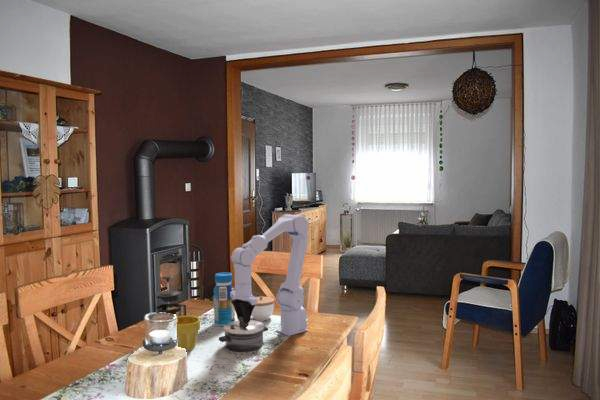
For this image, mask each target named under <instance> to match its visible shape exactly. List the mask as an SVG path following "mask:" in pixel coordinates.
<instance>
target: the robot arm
mask: <svg viewBox="0 0 600 400" xmlns="http://www.w3.org/2000/svg"><path fill="white" fill-rule="evenodd" d="M309 227H310V222H309V221H308V219H307V218H306V217H305V216H304V215H302V214H301V215H297V214H289V213H285V214H283V215H282V216H280V217H278V218H277V221H276V222H275V223H274V224H273V225H272V226H271V227H269V228H268V229H267V230H266V231H265V232H264V233H263V234H262V235H261V234H257V235H253V236H252V237H251V239H250V240H249V241H248V242H246V243H243V244H242V245H241V247H237V248H235V249H233V251H232V253H231V255H230V260H231V262H232V263H233V268H234V291H231V292H230V297H232V298H233V299H234V300H232V301H231V303H232V304H233V306H234V308H235V315H236V317H237V318H236V319H237V321H239V316H240V315H243V322H244V323H248V322H250V320H252V319H251V318H252V316H251V314H252V311H253V309H254V307H255V305H256V304H257V298H255V297H256V296H254V295H253V294H252V264H253V263H254V262H255V259H256V258H257V256H258V255H260V254H261V253H262V252H263V251H264V250H266V249H267V248H268V243H270V242H271V241H272V240H274V239H275V238H277V237H278V236H279V235H281V234H282V233H286V234H287V235H289V236H290V239H292V245H291V251H290V256H289V260H288V261H289V262H288V267H287V272H286V276H285V277H286V278H285V281H284V282H283V283H281V284H280V287H279V290H278V291H277V294H276V297H275V298H276V302H277V304H278V305H279V308H280V328H277V329H275V331H276V332H278V333H279V334H282V335H285V336H288V337H289V336H294V335H297V334H300V333H305V332H308V331H309V329H308V327H307V311H306V309H305V307H303V305H304V302H305V298H304V293H305V292H304V291H305V290H304V288H303V287H302V285H301V278H302V274H303V268H304V263H305V258H306V253H307V252H306V251H307V247H308V243H309V232H308V231H309Z"/></svg>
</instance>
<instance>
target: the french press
mask: <svg viewBox="0 0 600 400" xmlns="http://www.w3.org/2000/svg"><path fill="white" fill-rule="evenodd" d="M161 279H162V280H165V281H166V283H167V290H163V291H158V292H157V293H155V297H156V298H157V299H160V300H161V301H163V302H165V303H163V304H159V305H157V306H156V307H155V313H159V312H166V313H170V314H171V315H172V314H176V315H177V313H178V317H180V316H187V305H186V304H185V303H173V302H177V301H178V300H180V298H181V294H182V292H181V291H179V290H173V289H172V290H170V289H169V288H170V287H169V283H170V280H172V279H174V276H172V275H166V276H162V277H161ZM170 308H173V309H170ZM182 309H183V310H182ZM182 311H183V315H182ZM159 314H160V313H159Z"/></svg>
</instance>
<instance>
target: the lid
mask: <svg viewBox="0 0 600 400" xmlns="http://www.w3.org/2000/svg"><path fill="white" fill-rule="evenodd" d="M264 326H265V324H264V323H263V321H262V322H261V321H258V320H255V319H250V322H248V323H244V322H243V315H240V316H239V320H235V321H233V322H230V323H227V324H226V325H224V326H223V331H224V333H225V332H226V333H229V334H234V335H249V334H255V333H258V332H260V331H262V330H263V329H264Z"/></svg>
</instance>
